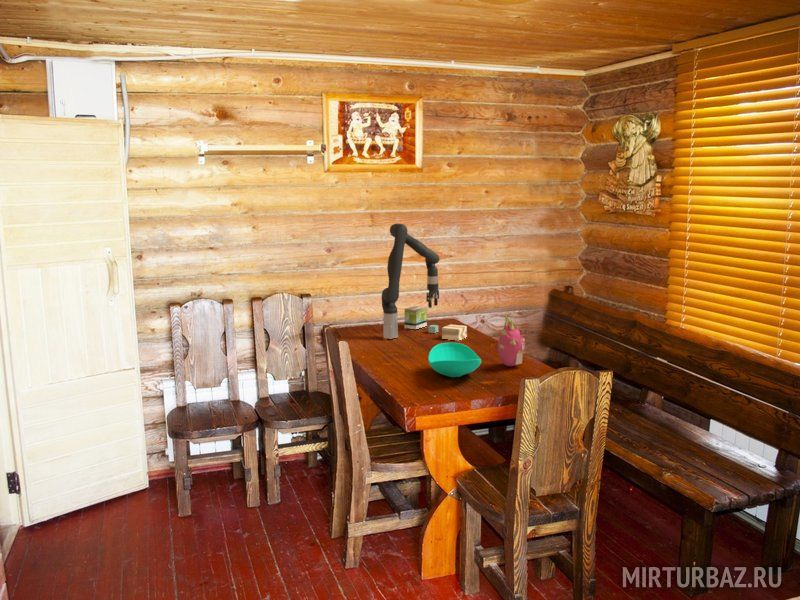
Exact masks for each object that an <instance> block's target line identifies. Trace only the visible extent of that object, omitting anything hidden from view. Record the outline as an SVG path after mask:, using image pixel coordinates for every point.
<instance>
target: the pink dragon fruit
mask: <svg viewBox="0 0 800 600" xmlns="http://www.w3.org/2000/svg"><path fill="white" fill-rule="evenodd" d="M504 317H505V319H504V320H505V321H504V327H503V328H502V329H503V330H502V331H501V333H500V335H499V336H498V337H499V338H498V342H497V352H498V356H499V359H500V361H501V362H502V364H503V365H504V366H507V367H514V366H516V365H521V364H523V358H524V357H523V356H524V350H525V348H526V344H525V337H523V335H524V328H522V331H520V330H518V327H519V326H518V324H517V323H516V324H515V322H514V321H513V320H512V319H511V320H510V318H509V317H508V313H507V312H506V313H505V315H504Z"/></svg>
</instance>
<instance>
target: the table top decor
mask: <svg viewBox="0 0 800 600" xmlns="http://www.w3.org/2000/svg"><path fill="white" fill-rule="evenodd" d="M427 357H428V363H429V365H430V367H431V368H432V369H433V370H434V371H436V372H437V373H439V374H441V375H443V376H446V377H450V378H461V377H462V376H465V375H467V374H471V373H472V372H474V371H475V370H476V369H478V368H479V367H480V365H481V364H482V359H481V358H480V356H478V354H477V353H476V352H475V351H474V350H473V349H471V348H470V347H469V346H468V345H465V344H464V343H460V342H459V343H458V342H441V343H438V344H436V345H435V346H433V347H432V348H431V350H430V351H429V353H428V356H427Z"/></svg>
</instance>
